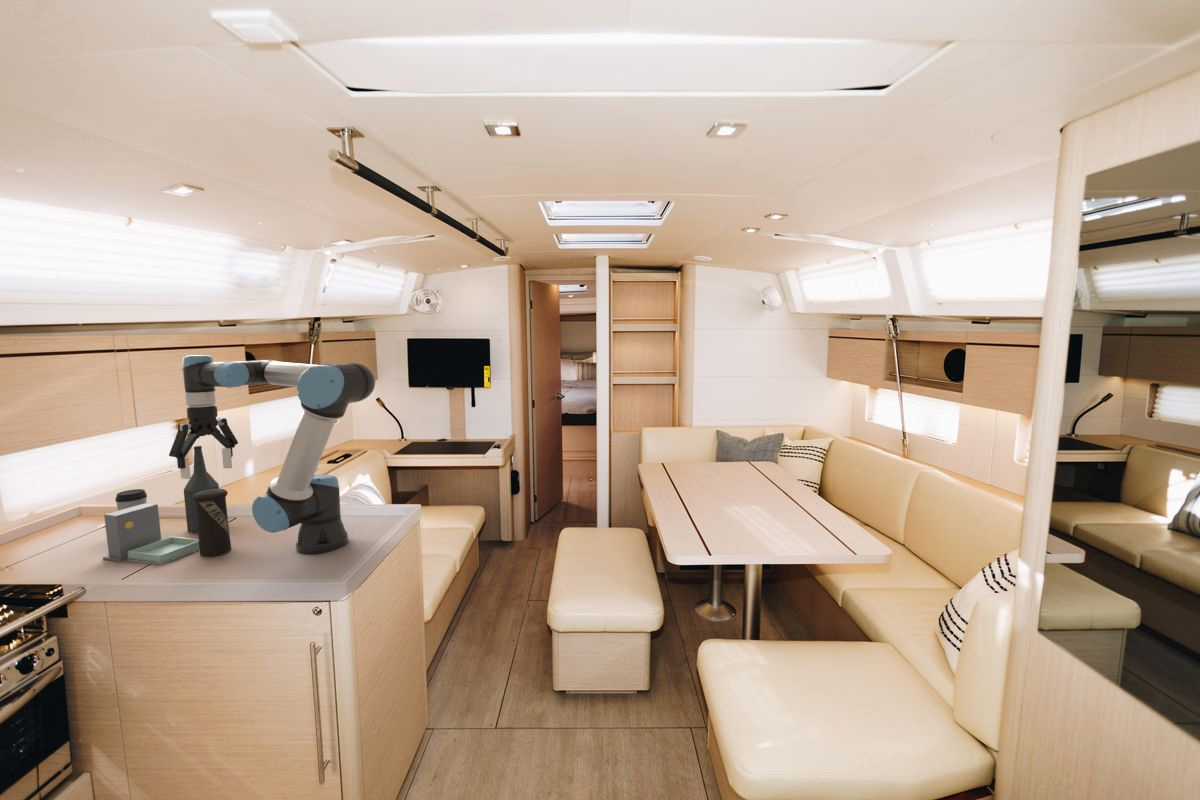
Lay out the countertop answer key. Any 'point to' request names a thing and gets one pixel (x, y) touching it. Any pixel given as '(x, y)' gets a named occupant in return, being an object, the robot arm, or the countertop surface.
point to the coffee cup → (131, 498)
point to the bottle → (197, 488)
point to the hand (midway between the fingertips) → (207, 473)
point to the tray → (164, 550)
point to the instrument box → (131, 530)
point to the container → (212, 522)
